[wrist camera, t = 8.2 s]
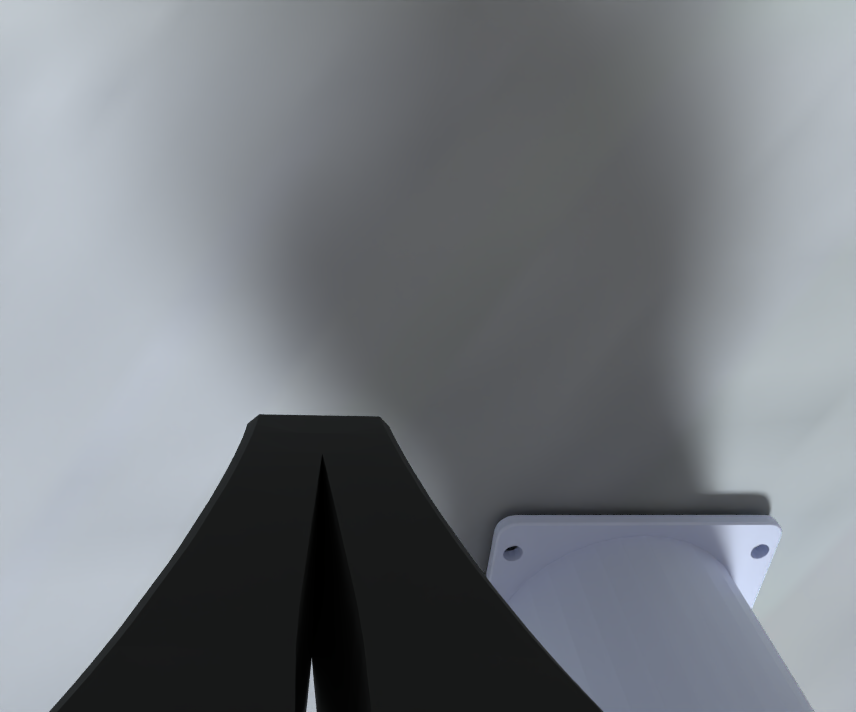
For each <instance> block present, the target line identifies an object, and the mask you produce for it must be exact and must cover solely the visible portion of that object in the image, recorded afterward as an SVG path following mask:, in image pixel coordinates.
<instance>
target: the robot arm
mask: <svg viewBox="0 0 856 712" xmlns="http://www.w3.org/2000/svg"><path fill="white" fill-rule="evenodd" d="M781 536H782V529H781V527H780V525H779V524H778V522H777V521H776V520H775V519H774V518H773V517H771V516H768V515H513V516H508V517H506V518H504V519H502V520H501V521H500V522H499V523H498V524H497V525H496V528H495V530H494V535H493V541H492V546H491V551H490V557H489V562H488V567H487V573H486V576H485V575H484V573H483V572H482V571H481V569H480V568H479V567H478V565H477V564H476V563H475V561H474V560H473V559H472V557H471V556H470V554H469V553H468V552H467V550H466V549H465V547H464V546H463V545H462V543H461V542H460V540H459V539H458V538H457V536H456V535H455V533H454V532H453V531H452V529H451V528H450V526H449V525H448V524H447V522H446V521H445V519H444V518H443V516H442V515H441V513H440V512H439V510H438V509H437V507H436V506H435V504H434V503H433V501H432V500H431V498H430V497H429V495H428V494H427V492H426V490H425V489H424V487H423V486H422V484H421V482H420V481H419V479H418V478H417V476H416V474H415V473H414V471H413V469H412V468H411V466H410V464H409V463H408V461H407V459H406V458H405V456H404V454H403V452H402V451H401V449H400V447H399V445H398V443H397V441H396V439H395V438H394V436H393V434H392V432H391V430H390V427H389V426H388V425H387V424H386V423H385V422H384V421H383V420H382V419H381V418H380V417H371V416H317V415H264V414H259V415H258V416H257V417H255V418H254V419H253V420H252V421H250V422H249V423H248V424H247V427H246V430H245V433H244V436H243V438H242V440H241V442H240V445H239V447H238V449H237V451H236V453H235V455H234V457H233V459H232V461H231V463H230V465H229V467H228V469H227V471H226V472H225V474H224V476H223V478H222V479H221V481H220V483H219V485H218V486H217V488H216V490H215V492H214V493H213V495H212V497H211V498H210V500H209V502H208V503H207V505H206V506H205V508H204V509H203V511H202V513H201V514H200V516H199V517H198V519H197V520H196V522H195V523H194V525H193V527H192V528H191V530H190V531H189V533H188V534H187V536H186V537H185V539H184V541H183V542H182V544H181V545H180V547H179V548H178V550H177V551H176V553H175V554H174V556H173V557H172V558H171V560H170V561H169V563H168V564H167V565H166V567H165V568H164V570H163V571H162V572H161V574H160V575H159V576H158V578H157V579H156V580H155V582H154V583H153V584H152V586H151V587H150V588H149V590H148V591H147V592H146V594H145V595H144V596H143V598H142V599H141V600H140V602H139V603H138V604H137V606H136V607H135V608H134V610H133V611H132V612H131V614H130V615H129V616H128V618H127V619H126V621H125V622H124V623H123V625H122V626H121V627H120V628H119V630H118V631H117V632H116V633H115V635H114V636H113V637H112V638H111V640H110V641H109V642H108V643H107V645H106V646H105V647H104V648H103V650H102V651H101V652H100V653H99V654H98V656H97V657H96V658H95V659H94V661H93V662H92V663H91V664H90V665H89V667H88V668H87V669H86V670H85V671H84V672H83V674H82V675H81V676H80V677H79V678H78V680H77V681H76V682H75V683H74V684H73V685H72V687H71V688H70V689H69V690H68V691H67V692H66V693H65V695H64V696H63V697H62V698H61V699H60V700H59V701H58V702H57V704H56V705H55V706H54V707H53V708H52V709H51V710H50V711H49V712H306V708H307V699H308V689H309V679H310V669H311V659H312V665H313V676H314V687H315V698H316V709H317V712H814V710H813V708H812V707H811V705H810V703H809V702H808V700H807V699H806V697H805V695H804V694H803V692H802V690H801V689H800V687H799V686H798V684H797V682H796V681H795V679H794V677H793V676H792V674H791V673H790V671H789V669H788V668H787V666H786V664H785V663H784V661H783V660H782V658H781V656H780V655H779V653H778V651H777V650H776V648H775V647H774V645H773V643H772V642H771V640H770V638H769V637H768V635H767V634H766V632H765V630H764V629H763V627H762V626H761V624H760V622H759V621H758V619H757V617H756V616H755V614H754V613H753V611H752V608H753V605H754V603H755V600H756V598H757V595H758V593H759V590H760V588H761V585H762V583H763V580H764V578H765V576H766V573H767V571H768V568H769V566H770V563H771V561H772V558H773V556H774V553H775V551H776V548H777V546H778V543H779V541H780V539H781ZM757 545H759V546H758V547H756V546H757ZM511 546H518V547H517V548H515V549H514V550H510V551H506V549H507V548H508V547H511ZM754 547H756V548H754Z"/></svg>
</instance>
